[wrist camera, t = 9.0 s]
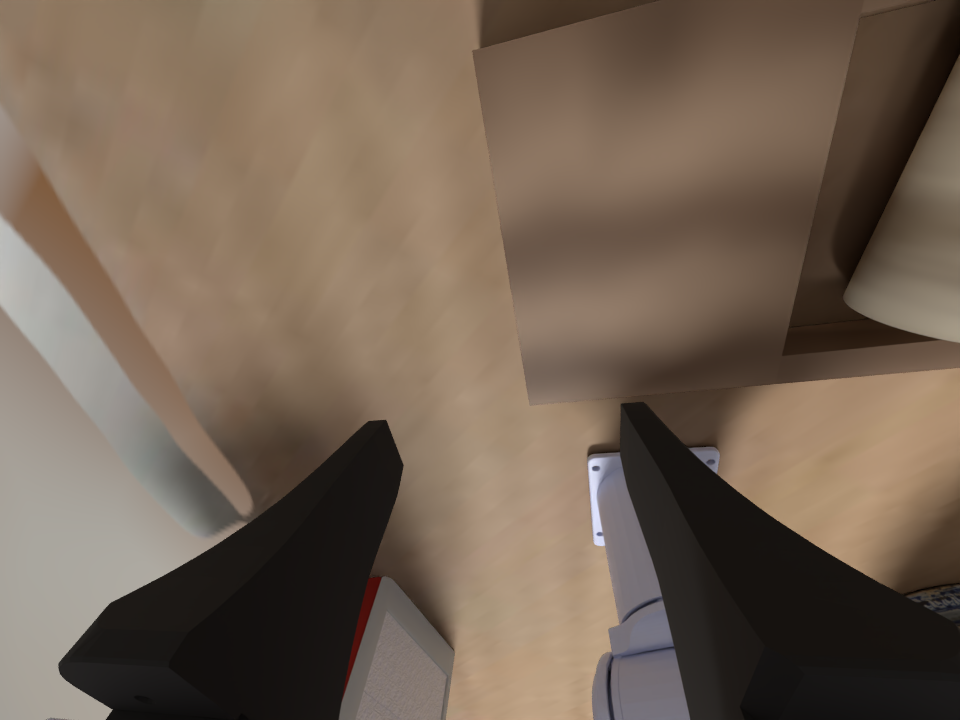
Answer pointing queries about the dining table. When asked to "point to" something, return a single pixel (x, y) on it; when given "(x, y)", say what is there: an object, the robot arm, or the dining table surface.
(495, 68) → the board
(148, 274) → the dining table surface
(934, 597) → the decorative vase
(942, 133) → the roller
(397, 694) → the red white striped box
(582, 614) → the dining table surface
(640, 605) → the robot arm
